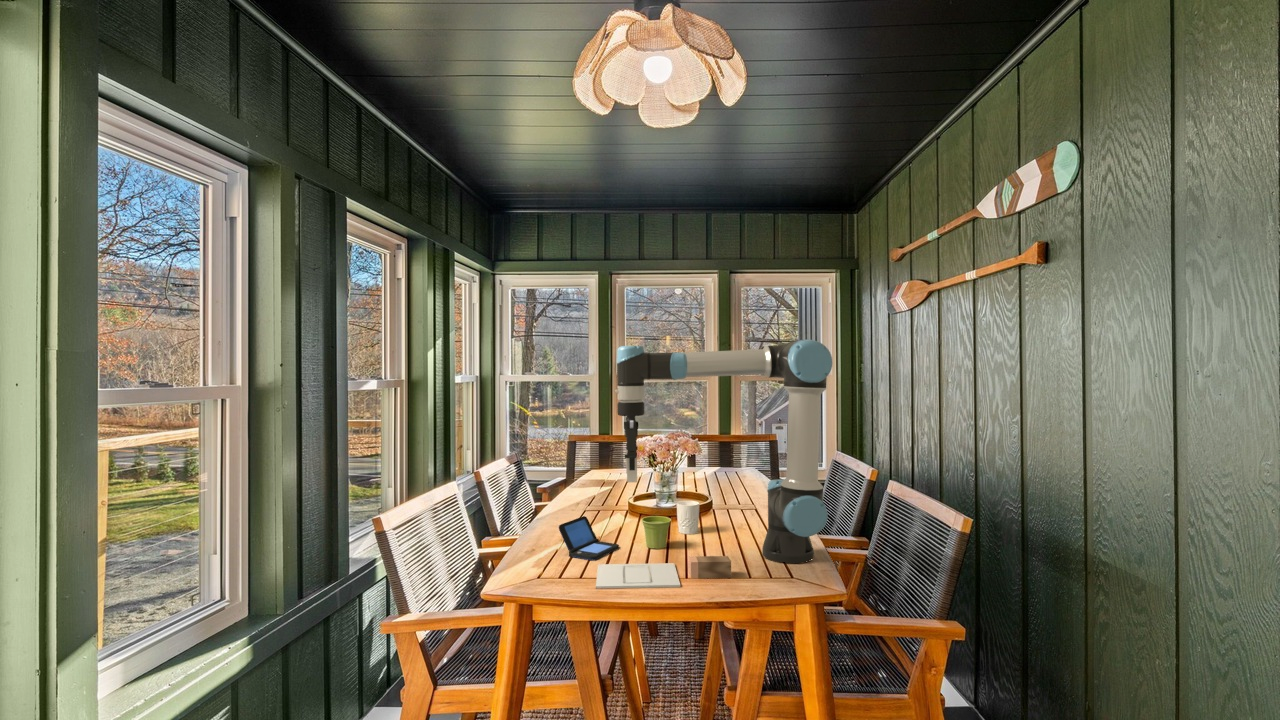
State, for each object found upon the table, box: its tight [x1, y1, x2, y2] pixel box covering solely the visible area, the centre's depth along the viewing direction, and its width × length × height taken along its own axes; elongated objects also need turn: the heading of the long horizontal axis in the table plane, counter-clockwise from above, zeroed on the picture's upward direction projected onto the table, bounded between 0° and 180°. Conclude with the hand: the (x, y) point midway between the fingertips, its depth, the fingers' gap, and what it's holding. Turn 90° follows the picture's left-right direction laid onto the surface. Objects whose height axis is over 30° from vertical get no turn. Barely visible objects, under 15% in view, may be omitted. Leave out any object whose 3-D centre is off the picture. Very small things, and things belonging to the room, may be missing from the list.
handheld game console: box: [558, 515, 620, 561], centre depth 199 cm, size 16×13×9 cm
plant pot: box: [641, 515, 672, 550], centre depth 203 cm, size 9×9×9 cm
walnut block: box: [688, 555, 732, 580], centre depth 176 cm, size 11×5×4 cm, turn 92°
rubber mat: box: [595, 562, 681, 589], centre depth 175 cm, size 22×18×1 cm
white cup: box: [676, 500, 700, 535], centre depth 221 cm, size 8×8×10 cm
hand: (631, 477), depth 177 cm, fingers open, 13 cm apart
